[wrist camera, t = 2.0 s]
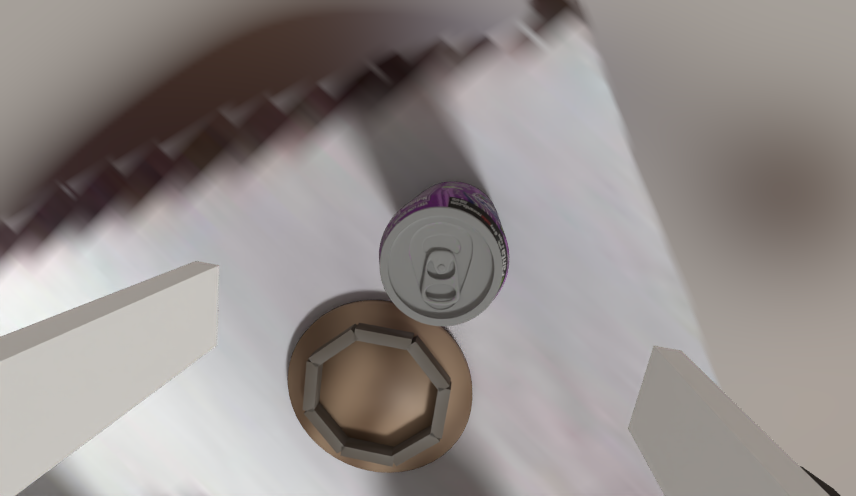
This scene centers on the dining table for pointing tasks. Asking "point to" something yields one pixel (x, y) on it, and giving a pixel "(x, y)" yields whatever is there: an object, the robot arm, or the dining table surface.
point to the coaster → (380, 387)
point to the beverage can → (444, 255)
